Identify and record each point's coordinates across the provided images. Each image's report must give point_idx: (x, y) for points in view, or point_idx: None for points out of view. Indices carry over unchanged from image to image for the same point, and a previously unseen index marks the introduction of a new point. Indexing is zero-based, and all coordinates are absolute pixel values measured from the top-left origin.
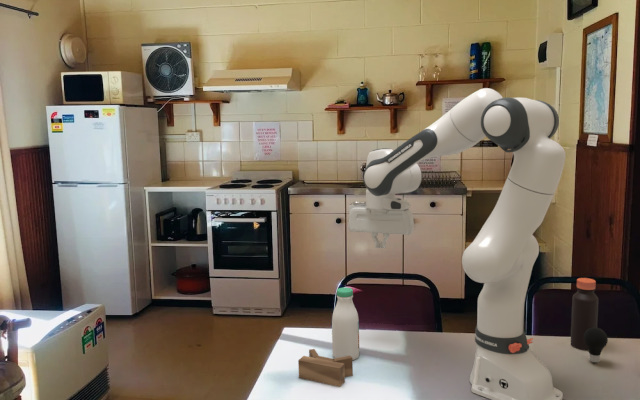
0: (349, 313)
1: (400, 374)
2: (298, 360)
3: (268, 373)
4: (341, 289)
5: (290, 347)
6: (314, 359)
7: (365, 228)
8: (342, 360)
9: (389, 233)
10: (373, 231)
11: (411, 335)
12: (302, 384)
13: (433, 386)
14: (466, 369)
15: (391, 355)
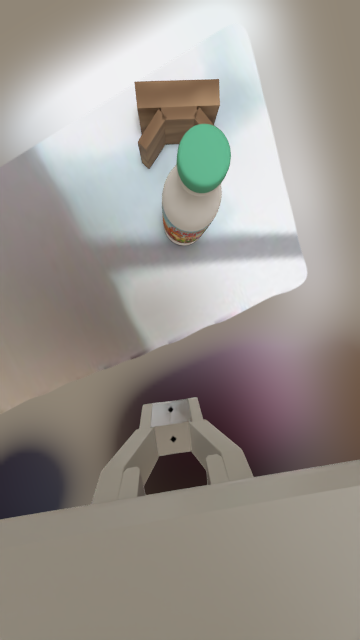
0: (173, 169)
1: (82, 203)
2: (218, 80)
3: (261, 102)
4: (214, 147)
5: (274, 212)
6: (194, 98)
7: (352, 511)
8: (149, 124)
9: (49, 512)
10: (232, 491)
11: (132, 341)
12: None
13: (21, 188)
14: (9, 267)
15: (125, 260)
